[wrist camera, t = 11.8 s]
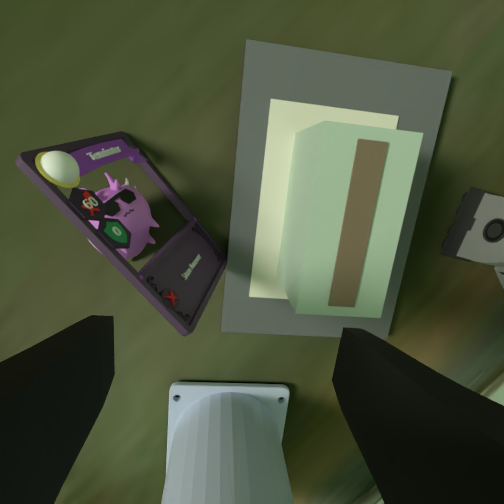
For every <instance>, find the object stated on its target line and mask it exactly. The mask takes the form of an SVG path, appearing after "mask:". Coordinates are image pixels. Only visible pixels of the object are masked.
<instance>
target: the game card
mask: <svg viewBox="0 0 504 504" xmlns="http://www.w3.org/2000/svg"><path fill="white" fill-rule="evenodd" d="M125 157H129V158H130V159H131V160H132V161H133V162H134V163H138V164H139V165H140V166H141V167H142V169H143V170H144V171H145V172H146V173H147V174H148V176H149V177H150V178H151V179H152V180H153V182H154V183H155V184H156V185H157V186H158V187H159V189H160V190H161V191H162V192H163V193H164V195H165V196H166V197H167V198H168V199H169V201H170V202H171V203H172V204H173V205H174V206H175V208H176V209H177V210H178V211H179V212H180V214H181V215H182V216H183V217H184V218H185V219H186V221H187V222H186V223H185V224H184V225H183V226H182V227H181V228H180V229H179V230H178V232H177V233H176V234H175V235H174V236H173V237H172V238H171V239H170V240H169V241H168V242H167V243H166V244H165V245H164V246H163V247H162V248H161V249H160V250H159V251H158V252H157V253H156V254H155V255H154V256H153V257H152V258H151V259H150V260H149V261H148V262H147V263H146V264H145V265H144V267H143V268H142V269H141V270H140V271H139V272H137V271H136V270H135V269H134V268H133V267H132V266H131V265H130V264H129V262H131V261H132V260H133V257H135V256H137V255H138V254H139V253H141V251H142V250H143V249H144V247H145V246H146V244H147V243H151V244H155V243H156V242H155V240H154V239H153V238H152V237H151V236H150V234H149V227H150V226H151V227H159V225H158V224H157V223H156V221H155V220H154V219H153V218H152V216H151V212H150V207H149V205H148V203H147V201H146V199H145V198H144V197H143V196H142V195H141V194H140V193H138V192H137V190H136V186H135V185H134V187H133V188H131V187H130V186H129V182H128V179H127V178H126V183H125V184H124V185H122V186H120V184H119V182H118V180H117V179H115V180H114V179H113V178H112V176H111V175H110V174H108V173H105V175H106V176H107V178H108V181H109V184H110V187H108V188H105V189H102V190H100V191H98V192H96V193H94V192H93V191H90V190H87V189H85V188H79V189H78V188H74V187H76V186H77V185H78V184H79V182H80V176H82V175H84V174H86V173H88V172H90V171H92V170H94V169H96V168H98V167H100V166H102V165H105V164H107V163H110V162H113V161H116V160H119V159H122V158H125ZM15 163H16V165H17V166H18V168H19V169H20V170H21V171H22V172H23V173H24V174H25V175H26V176H27V177H28V178H29V179H30V180H31V181H32V182H33V183H34V184H35V185H36V186H37V187H38V188H39V189H40V190H41V191H42V192H43V193H44V194H45V195H46V196H47V197H48V198H49V199H50V200H51V201H52V202H53V203H54V205H55V206H56V207H57V208H58V209H59V210H60V211H61V212H62V213H63V214H64V215H65V216H66V217H67V218H68V219H69V220H70V221H71V222H72V223H73V224H74V225H75V226H76V227H77V228H78V229H79V230H80V231H81V232H82V233H83V234H84V235H85V236H86V237H87V239H88V240H89V241H90V243H91V244H92V245H93V246H94V247H95V248H96V249H97V250H98V251H99V252H101V253H102V254H103V255H104V256H105V257H106V258H107V259H108V260H109V261H110V262H111V263H112V264H113V265H114V266H115V267H116V268H117V269H118V270H119V271H120V272H121V273H122V274H123V275H124V276H125V277H126V278H127V280H128V281H129V282H130V283H131V284H132V285H133V286H134V287H135V288H136V289H137V290H138V291H139V292H140V293H141V294H142V295H143V296H144V297H145V298H146V299H147V300H148V301H149V302H150V303H151V304H152V305H153V306H154V307H155V308H156V309H157V310H158V311H159V312H160V313H161V314H162V315H163V317H164V318H165V319H166V320H167V321H168V322H169V323H170V324H171V325H172V326H173V327H174V328H175V329H176V330H177V331H178V332H179V333H180V334H181V335H182V336H187V335H188V334H190V333H192V332H193V331H194V329H195V327H196V325H197V323H198V321H199V319H200V317H201V315H202V313H203V311H204V309H205V307H206V305H207V303H208V301H209V299H210V297H211V295H212V293H213V291H214V289H215V287H216V285H217V283H218V281H219V279H220V277H221V275H222V273H223V271H224V269H225V267H226V265H227V255H226V254H225V252H224V251H223V250H222V249H221V248H220V246H219V245H218V244H217V243H216V242H215V240H214V239H213V238H212V237H211V235H210V234H209V233H208V232H207V231H206V229H205V228H204V227H203V226H202V225H201V223H200V222H199V221H198V220H197V219H196V217H195V216H194V215H193V214H192V213H191V211H190V210H189V209H188V208H187V207H186V205H185V204H184V203H183V202H182V201H181V199H180V198H179V197H178V196H177V195H176V193H175V192H174V191H173V190H172V189H171V187H170V186H169V185H168V184H167V183H166V181H165V180H164V179H163V178H162V177H161V175H160V174H159V173H158V172H157V170H156V169H155V168H154V167H153V166H152V164H151V163H150V162H149V161H148V160H147V158H146V157H145V156H144V155H143V154H142V152H141V151H140V150H139V148H137V146H136V145H135V144H134V143H133V142H132V140H131V139H130V138H129V137H128V136H127V134H125V133H124V132H116V133H111V134H107V135H102V136H97V137H93V138H88V139H83V140H78V141H74V142H69V143H64V144H60V145H55V146H50V147H46V148H41V149H36V150H31V151H27V152H23V153H21V154H20V155H19V157H18V158H17V159H16V161H15ZM54 184H55V185H56V186H59V187H63V188H73V189H72V192H71V195H70V198H69V200H68V199H67V198H66V197H65V195H64V194H63V193H62V192H61V191H60V190H59V189H58V188H57V187H56V186H55V185H54Z"/></svg>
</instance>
